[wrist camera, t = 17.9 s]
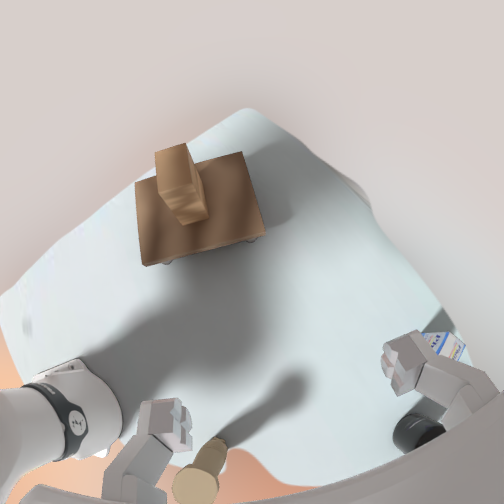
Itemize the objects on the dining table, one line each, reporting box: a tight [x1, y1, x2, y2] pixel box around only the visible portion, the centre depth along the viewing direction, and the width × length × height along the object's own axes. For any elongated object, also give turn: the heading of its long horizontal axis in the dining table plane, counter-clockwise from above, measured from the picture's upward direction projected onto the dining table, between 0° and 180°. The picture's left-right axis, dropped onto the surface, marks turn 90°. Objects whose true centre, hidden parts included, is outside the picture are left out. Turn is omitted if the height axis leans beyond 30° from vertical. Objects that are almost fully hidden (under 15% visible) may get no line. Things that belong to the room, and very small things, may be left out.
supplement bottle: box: [393, 413, 447, 454], centre depth 28 cm, size 7×7×12 cm
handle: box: [172, 437, 228, 504], centre depth 28 cm, size 5×6×15 cm
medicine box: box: [421, 331, 466, 361], centre depth 33 cm, size 8×4×9 cm, turn 142°
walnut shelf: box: [135, 151, 266, 267], centre depth 43 cm, size 18×14×6 cm
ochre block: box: [155, 143, 209, 226], centre depth 36 cm, size 4×6×10 cm, turn 14°
